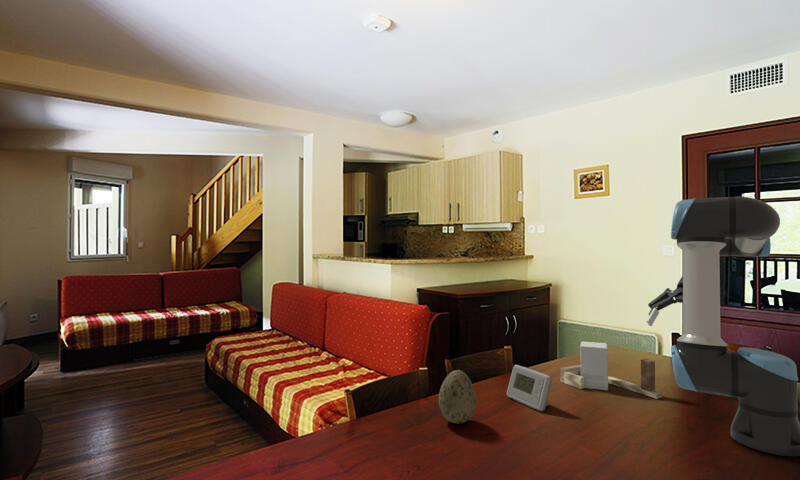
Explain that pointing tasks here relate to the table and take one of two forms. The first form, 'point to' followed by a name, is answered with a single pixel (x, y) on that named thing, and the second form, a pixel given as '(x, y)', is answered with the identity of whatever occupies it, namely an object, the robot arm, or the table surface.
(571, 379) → the hooked slat
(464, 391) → the decorative egg
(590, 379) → the supplement box
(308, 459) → the table surface
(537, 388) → the digital clock
